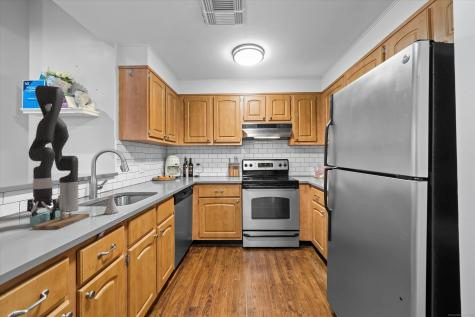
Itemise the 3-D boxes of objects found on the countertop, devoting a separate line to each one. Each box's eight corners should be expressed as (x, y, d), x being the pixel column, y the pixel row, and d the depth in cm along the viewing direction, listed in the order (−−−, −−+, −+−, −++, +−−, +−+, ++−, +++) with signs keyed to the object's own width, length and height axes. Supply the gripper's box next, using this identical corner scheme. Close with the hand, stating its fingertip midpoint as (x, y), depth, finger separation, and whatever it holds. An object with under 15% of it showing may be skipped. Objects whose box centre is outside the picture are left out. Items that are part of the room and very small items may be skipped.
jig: (32, 229, 110) (32, 218, 110) (67, 216, 132) (66, 207, 132) (59, 229, 110) (58, 218, 110) (89, 216, 132) (88, 207, 132)
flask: (112, 214, 136) (112, 196, 135) (101, 214, 137) (100, 196, 137) (121, 211, 143) (120, 194, 143) (110, 211, 144) (110, 194, 144)
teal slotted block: (29, 225, 116) (29, 217, 116) (51, 218, 129) (50, 210, 129) (40, 225, 116) (40, 217, 116) (60, 218, 129) (60, 210, 129)
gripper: (62, 186, 124) (63, 217, 125) (34, 186, 124) (35, 218, 125) (51, 188, 117) (52, 221, 117) (21, 188, 117) (22, 222, 117)
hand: (43, 219), depth 121 cm, fingers open, 8 cm apart
